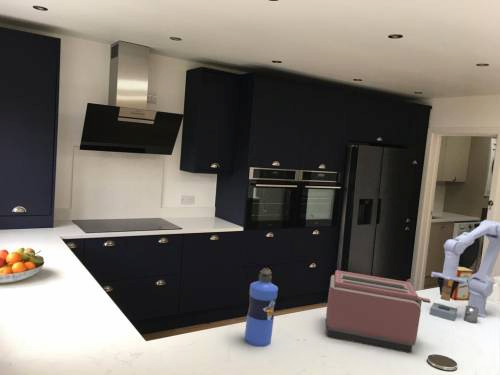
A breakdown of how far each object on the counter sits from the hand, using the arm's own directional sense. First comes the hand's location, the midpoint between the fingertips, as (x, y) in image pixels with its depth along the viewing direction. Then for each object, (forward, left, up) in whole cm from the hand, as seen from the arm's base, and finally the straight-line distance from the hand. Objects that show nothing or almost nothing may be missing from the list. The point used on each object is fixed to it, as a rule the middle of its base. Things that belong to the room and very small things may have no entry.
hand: (445, 295), depth 195 cm
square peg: (0, 0, -2) cm, 2 cm away
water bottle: (+86, -47, -9) cm, 98 cm away
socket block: (0, 0, -9) cm, 9 cm away
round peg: (-2, +11, -9) cm, 14 cm away
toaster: (+50, -18, -9) cm, 54 cm away
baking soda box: (-35, +2, -9) cm, 36 cm away
